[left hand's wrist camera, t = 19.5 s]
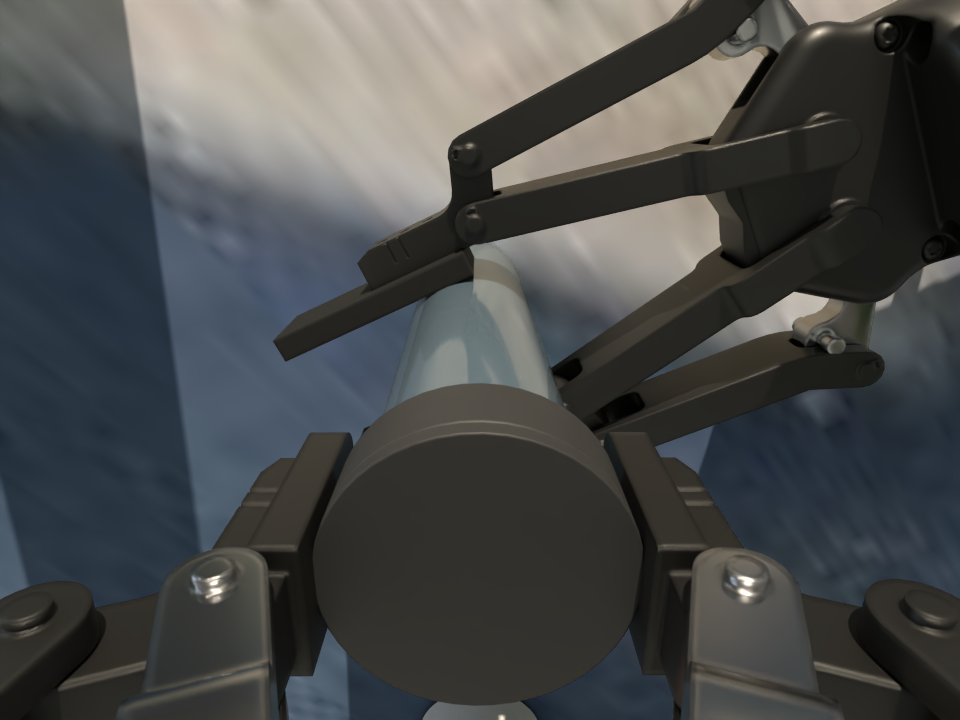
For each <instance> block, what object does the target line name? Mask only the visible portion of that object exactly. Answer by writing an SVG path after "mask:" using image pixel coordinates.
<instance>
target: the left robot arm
mask: <svg viewBox="0 0 960 720" xmlns="http://www.w3.org/2000/svg"><path fill="white" fill-rule="evenodd" d="M603 448H604V449H605V451H606V452H607V454H608V456H609V458H610V461H611V463H612V465H613V468H614V470H615V472H616V475H617V477H618V480H619V482H620V485H621V487H622V490H623V492H624V495H625V497H626V500H627V502H628V505H629V507H630V510H631V512H632V515H633V518H634V520H635V522H636V525H637V527H638V530H639V533H640V537H641V541H642V545H643V550H644V557H643V568H642V577H641V587H640V596H639V604H638V608H637V611H636V613H635V616H634V618H633V621H632V622H631V624H630V626H629V630H630V633H631V636H632V640H633V643H634V646H635V650H636V653H637V656H638V660H639V663H640V666H641V670H642V673H643V675H666V677H667V680H668V683H669V686H670V689H671V692H672V695H673V698H674V699H673V706H672V714H671V720H960V599H958V598H956V597H955V596H953V595H951V594H949V593H947V592H944V591H942V590H940V589H937V588H935V587H932V586H929V585H926V584H922V583H918V582H914V581H908V580H900V579H890V580H882V581H879V582H876V583H874V584H873V585H871V586H870V587H869V588H868V589H867V592H866V595H865V598H864V602H863V606H862V607H858V606H854V605H849V604H844V603H840V602H835V601H831V600H826V599H821V598H817V597H813V596H809V595H805V594H802V593H801V591H800V587H799V584H798V582H797V581H796V579H795V578H794V576H793V575H792V574H791V573H790V572H789V571H788V570H787V569H786V568H785V567H784V566H782V565H781V564H779V563H778V562H776V561H775V560H773V559H771V558H769V557H767V556H765V555H763V554H760V553H757V552H754V551H751V550H747V549H744V548H743V547H742V545H741V543H740V542H739V540H738V539H737V537H736V535H735V534H734V532H733V531H732V529H731V528H730V526H729V524H728V523H727V521H726V520H725V518H724V516H723V515H722V513H721V512H720V510H719V508H718V507H717V506H715V502H714V500H713V499H712V497H711V496H710V494H709V493H708V492H706V488H705V486H704V485H703V483H702V481H701V480H700V478H699V477H698V475H697V473H696V472H695V471H694V470H692V469H691V468H689V467H688V466H687V465H685V464H684V463H682V462H681V461H680V460H678V459H677V458H661V457H660V455H659V454H658V452H657V450H656V448H655V446H654V444H653V443H652V441H651V439H650V437H649V435H648V434H647V433H646V432H607V433H606V435H605V439H604V446H603ZM352 449H353V440H352V436H351V434H350V433H310V434H309V435H308V437H307V439H306V440H305V442H304V444H303V446H302V448H301V449H300V451H299V453H298V455H297V456H296V458H281V459H279V460H278V461H276V462H275V463H274V464H272V465H271V466H269V467H268V468H266V469H265V470H264V471H262V472H261V473H260V475H259V476H258V478H257V479H256V481H255V482H254V484H253V486H252V487H251V489H250V493H247V495H246V496H245V498H244V500H243V501H242V503H241V507H238V509H237V511H236V512H235V514H234V515H233V517H232V518H231V520H230V522H229V523H228V525H227V526H226V528H225V529H224V531H223V533H222V534H221V536H220V537H219V539H218V540H217V542H216V544H215V545H214V547H213V548H212V550H209V551H206V552H203V553H200V554H197V555H195V556H193V557H191V558H189V559H187V560H185V561H184V562H182V563H181V564H179V565H178V566H176V567H175V568H174V569H173V570H172V571H171V572H170V573H169V574H168V575H167V576H166V578H165V579H164V581H163V582H162V584H161V587H160V591H159V593H156V594H153V595H150V596H146V597H142V598H138V599H134V600H129V601H125V602H120V603H115V604H111V605H106V606H102V607H97V608H95V605H94V602H93V598H92V595H91V592H90V590H89V589H88V588H87V587H85V586H84V585H82V584H79V583H76V582H69V581H56V582H48V583H43V584H38V585H35V586H32V587H28V588H25V589H23V590H20V591H17V592H15V593H13V594H11V595H8V596H6V597H4V598H3V599H1V600H0V720H289V714H288V706H287V699H286V692H285V688H286V686H287V683H288V680H289V677H290V676H313V673H314V670H315V667H316V664H317V660H318V657H319V654H320V650H321V647H322V644H323V641H324V637H325V634H326V631H327V628H328V627H327V625H326V623H325V621H324V619H323V617H322V615H321V613H320V610H319V607H318V602H317V595H316V586H315V577H314V568H313V548H314V542H315V538H316V535H317V532H318V529H319V526H320V523H321V521H322V518H323V516H324V514H325V511H326V509H327V506H328V504H329V501H330V499H331V496H332V494H333V491H334V489H335V486H336V484H337V482H338V479H339V477H340V474H341V472H342V469H343V467H344V464H345V462H346V460H347V458H348V456H349V454H350V452H351V450H352Z"/></svg>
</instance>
